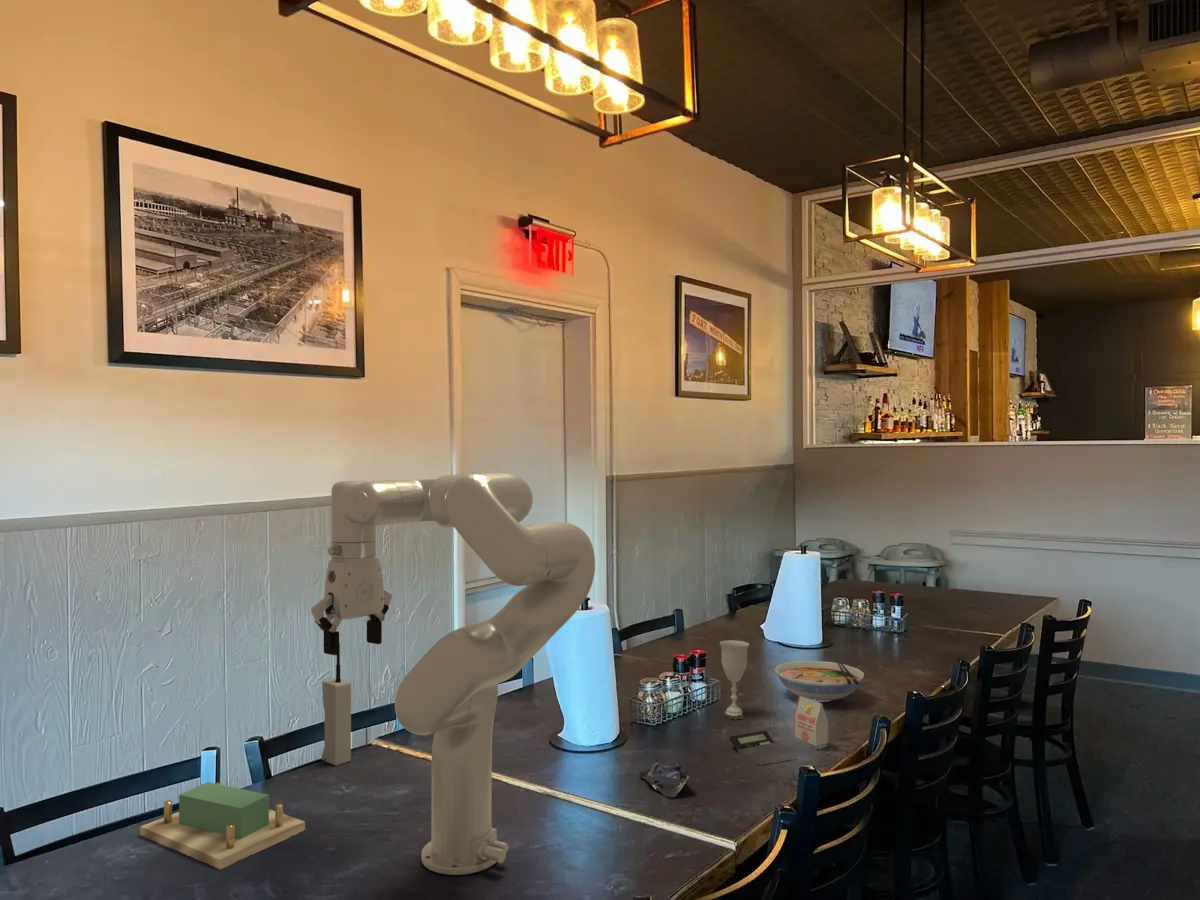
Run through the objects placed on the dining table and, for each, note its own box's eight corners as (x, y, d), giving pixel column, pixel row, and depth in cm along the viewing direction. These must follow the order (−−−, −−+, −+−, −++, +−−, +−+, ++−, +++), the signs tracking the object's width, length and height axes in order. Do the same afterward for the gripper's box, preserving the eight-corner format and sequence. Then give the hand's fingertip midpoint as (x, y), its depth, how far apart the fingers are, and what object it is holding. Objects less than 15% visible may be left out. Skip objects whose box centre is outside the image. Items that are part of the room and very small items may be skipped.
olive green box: (268, 824, 144) (268, 794, 144) (241, 838, 139) (241, 808, 139) (207, 810, 150) (207, 782, 150) (179, 824, 144) (179, 794, 144)
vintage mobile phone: (337, 756, 181) (337, 638, 181) (351, 761, 178) (351, 642, 178) (321, 761, 178) (322, 641, 178) (335, 766, 175) (335, 645, 175)
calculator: (760, 767, 176) (760, 752, 176) (729, 749, 186) (729, 735, 186) (797, 760, 180) (797, 746, 180) (764, 743, 190) (764, 729, 190)
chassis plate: (305, 830, 145) (305, 801, 145) (220, 869, 132) (220, 837, 132) (225, 802, 157) (225, 775, 157) (140, 835, 143) (140, 805, 143)
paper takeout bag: (805, 738, 192) (805, 694, 192) (827, 747, 187) (827, 702, 187) (793, 741, 190) (793, 697, 190) (815, 750, 185) (815, 704, 185)
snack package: (627, 796, 161) (688, 802, 158) (628, 761, 162) (688, 766, 159) (643, 784, 173) (700, 789, 169) (644, 750, 174) (700, 755, 170)
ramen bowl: (771, 684, 237) (771, 655, 237) (856, 687, 234) (856, 658, 234) (778, 711, 212) (778, 678, 212) (872, 715, 209) (872, 682, 209)
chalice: (753, 715, 209) (753, 642, 209) (742, 723, 203) (742, 648, 203) (725, 710, 213) (726, 639, 213) (714, 718, 207) (714, 644, 207)
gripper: (328, 557, 140) (328, 661, 140) (404, 547, 155) (404, 641, 155) (298, 554, 144) (298, 655, 144) (375, 545, 159) (375, 636, 159)
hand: (353, 648), depth 149 cm, fingers open, 9 cm apart
